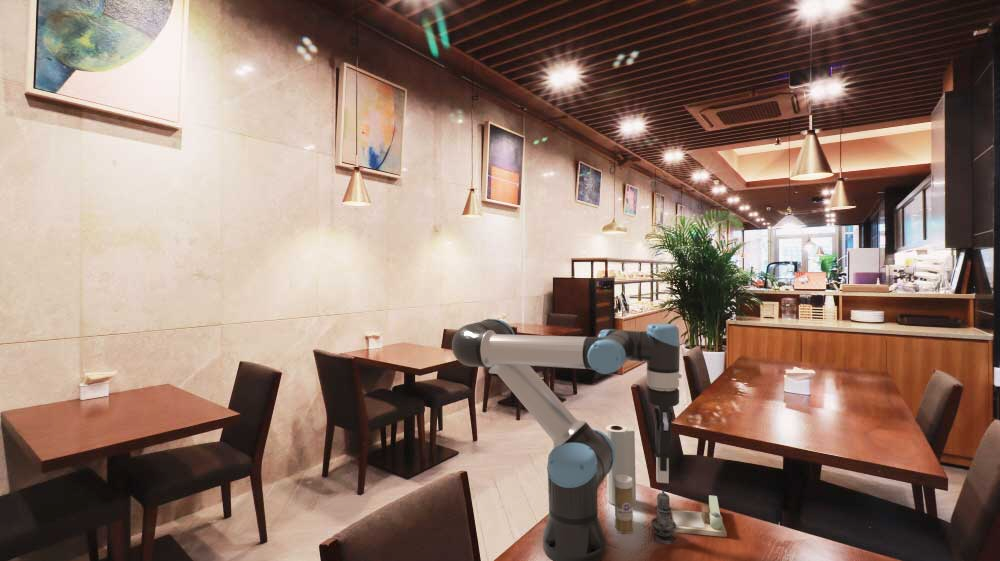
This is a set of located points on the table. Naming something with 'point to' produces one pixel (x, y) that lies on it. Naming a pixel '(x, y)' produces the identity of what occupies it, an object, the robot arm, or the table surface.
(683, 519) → the board
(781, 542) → the table surface
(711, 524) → the leg
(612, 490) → the paper towel roll
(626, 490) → the sprinkles bottle
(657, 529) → the grey stone chess piece
